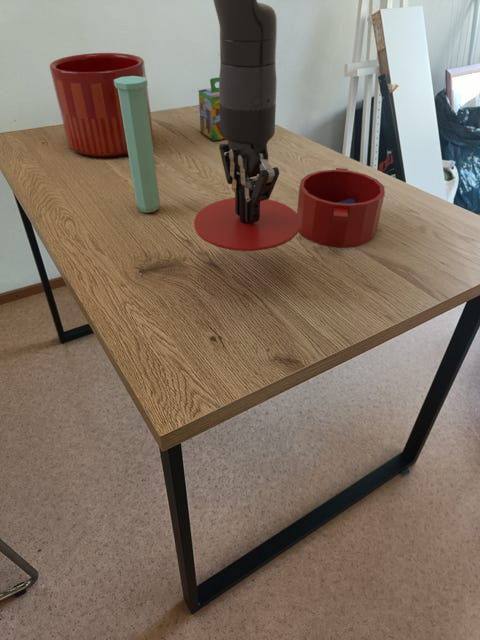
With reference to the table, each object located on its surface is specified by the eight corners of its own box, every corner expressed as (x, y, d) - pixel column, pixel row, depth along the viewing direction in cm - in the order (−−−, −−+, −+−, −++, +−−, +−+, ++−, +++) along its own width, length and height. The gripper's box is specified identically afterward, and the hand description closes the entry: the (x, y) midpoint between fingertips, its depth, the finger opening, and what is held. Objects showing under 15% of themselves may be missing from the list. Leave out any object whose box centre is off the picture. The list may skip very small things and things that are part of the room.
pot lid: (303, 206, 77) (307, 169, 73) (295, 259, 65) (298, 217, 60) (208, 199, 80) (206, 162, 75) (182, 249, 67) (177, 208, 63)
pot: (373, 206, 97) (381, 167, 92) (378, 258, 81) (388, 216, 76) (300, 200, 99) (304, 162, 94) (291, 250, 83) (295, 208, 78)
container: (168, 210, 95) (153, 80, 79) (144, 219, 92) (124, 86, 76) (153, 201, 99) (135, 74, 82) (129, 209, 96) (106, 79, 79)
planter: (135, 125, 137) (123, 49, 124) (168, 148, 123) (159, 65, 110) (59, 139, 128) (38, 58, 115) (84, 166, 113) (64, 77, 100)
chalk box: (213, 142, 127) (211, 84, 117) (199, 132, 133) (196, 76, 123) (242, 136, 130) (242, 80, 120) (227, 127, 136) (226, 72, 126)
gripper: (301, 108, 57) (292, 230, 68) (245, 84, 66) (245, 195, 77) (250, 117, 54) (249, 243, 65) (199, 91, 63) (206, 206, 74)
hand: (247, 217), depth 71 cm, fingers closed on pot lid, 2 cm apart
